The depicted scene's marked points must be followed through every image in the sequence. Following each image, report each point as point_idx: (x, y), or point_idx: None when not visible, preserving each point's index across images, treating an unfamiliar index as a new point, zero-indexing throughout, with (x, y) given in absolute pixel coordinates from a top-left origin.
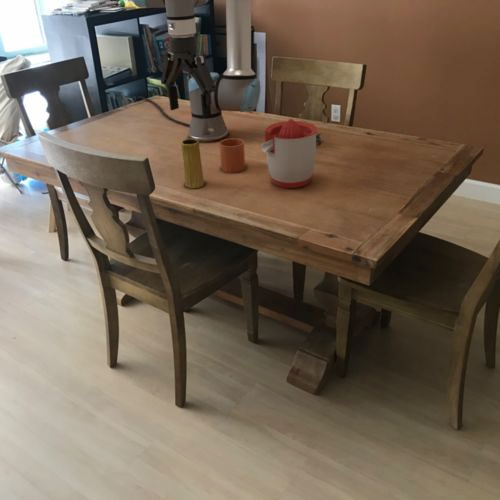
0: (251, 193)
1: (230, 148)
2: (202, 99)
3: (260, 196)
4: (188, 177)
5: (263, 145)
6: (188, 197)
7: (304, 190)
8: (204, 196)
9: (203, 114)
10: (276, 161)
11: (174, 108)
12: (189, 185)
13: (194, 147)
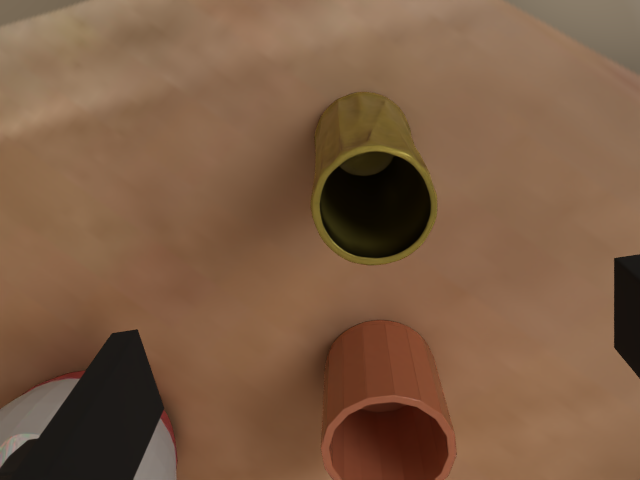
0: (106, 261)
1: (340, 406)
2: (28, 465)
3: (58, 268)
4: (351, 107)
5: None
6: (259, 28)
7: None
8: (216, 94)
9: (113, 347)
10: (4, 431)
11: (620, 297)
12: (347, 100)
13: (312, 193)
